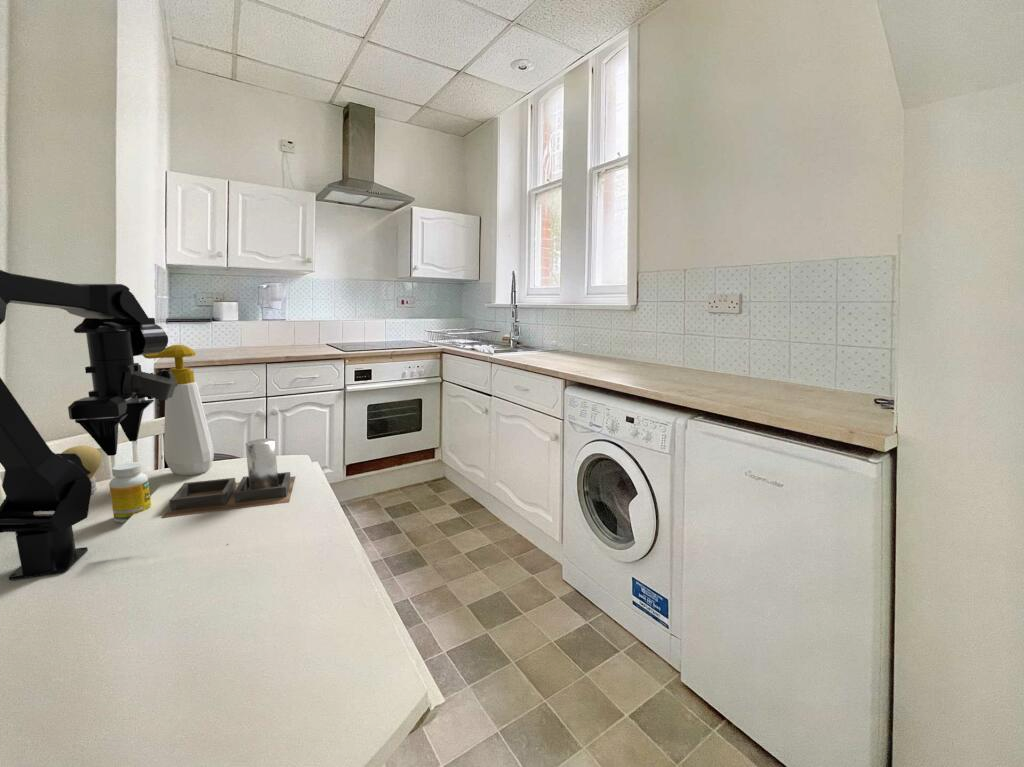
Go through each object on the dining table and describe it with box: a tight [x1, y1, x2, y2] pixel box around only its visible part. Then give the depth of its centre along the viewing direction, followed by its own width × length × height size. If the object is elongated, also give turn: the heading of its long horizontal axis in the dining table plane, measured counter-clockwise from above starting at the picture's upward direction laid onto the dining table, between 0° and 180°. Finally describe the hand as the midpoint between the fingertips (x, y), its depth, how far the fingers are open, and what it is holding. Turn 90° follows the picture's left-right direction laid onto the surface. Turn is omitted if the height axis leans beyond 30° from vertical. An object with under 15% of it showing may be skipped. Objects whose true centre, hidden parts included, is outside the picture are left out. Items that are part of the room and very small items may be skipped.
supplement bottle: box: [108, 461, 152, 524], centre depth 83 cm, size 5×5×10 cm
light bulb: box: [60, 445, 102, 495], centre depth 93 cm, size 6×6×10 cm
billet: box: [245, 438, 279, 490], centre depth 91 cm, size 5×5×10 cm
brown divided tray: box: [160, 471, 296, 519], centre depth 90 cm, size 14×20×4 cm
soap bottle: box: [142, 344, 215, 476], centre depth 101 cm, size 13×10×29 cm
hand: (123, 447), depth 82 cm, fingers open, 9 cm apart
